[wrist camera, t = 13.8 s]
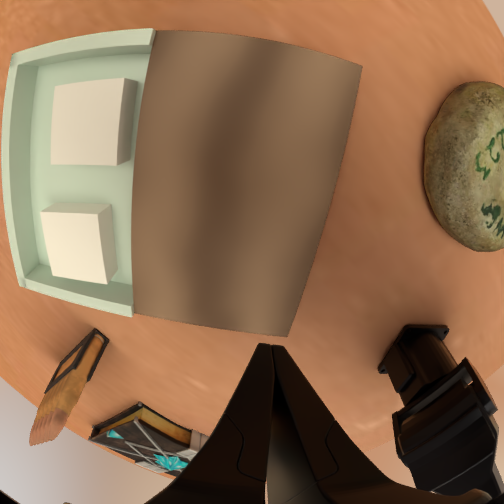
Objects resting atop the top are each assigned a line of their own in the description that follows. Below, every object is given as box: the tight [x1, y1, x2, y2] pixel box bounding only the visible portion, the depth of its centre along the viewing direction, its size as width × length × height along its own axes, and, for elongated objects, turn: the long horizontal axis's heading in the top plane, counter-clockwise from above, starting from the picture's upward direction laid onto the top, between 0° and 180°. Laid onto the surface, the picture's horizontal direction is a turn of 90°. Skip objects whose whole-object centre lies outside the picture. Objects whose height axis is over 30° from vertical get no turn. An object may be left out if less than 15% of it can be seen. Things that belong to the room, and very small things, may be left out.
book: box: [88, 402, 209, 477], centre depth 32 cm, size 22×17×5 cm
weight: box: [424, 82, 504, 252], centre depth 14 cm, size 14×14×5 cm
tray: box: [1, 28, 156, 317], centre depth 15 cm, size 11×18×3 cm, turn 169°
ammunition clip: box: [29, 328, 109, 446], centre depth 19 cm, size 11×2×12 cm, turn 130°
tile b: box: [51, 78, 138, 166], centre depth 13 cm, size 5×5×2 cm
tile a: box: [40, 202, 118, 284], centre depth 17 cm, size 5×5×2 cm
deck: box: [131, 31, 362, 337], centre depth 16 cm, size 11×18×2 cm, turn 169°
